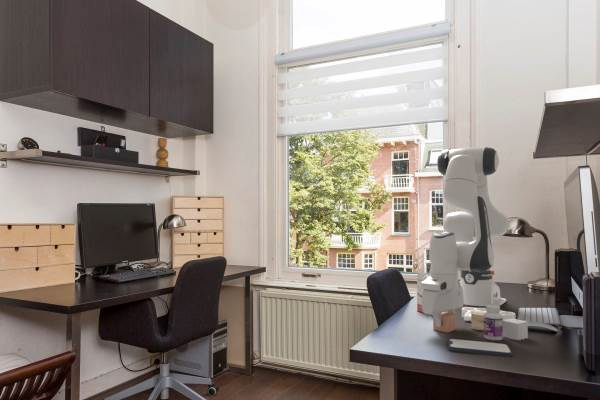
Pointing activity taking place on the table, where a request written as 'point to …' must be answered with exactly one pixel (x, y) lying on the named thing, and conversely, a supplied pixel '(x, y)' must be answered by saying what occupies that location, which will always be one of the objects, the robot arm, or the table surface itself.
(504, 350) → the phone case
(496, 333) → the pill bottle
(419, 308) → the ink cartridge box
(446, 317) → the terracotta block
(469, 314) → the knuckle duster
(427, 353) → the table surface
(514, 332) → the grey block
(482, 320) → the maple block
